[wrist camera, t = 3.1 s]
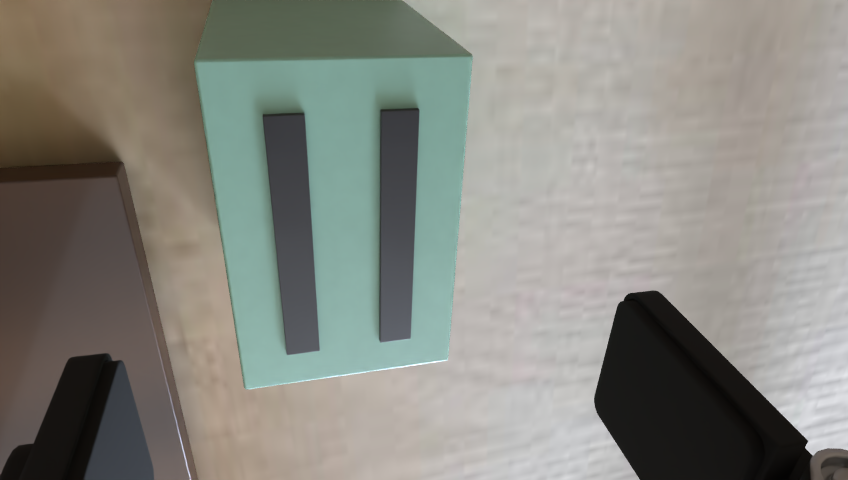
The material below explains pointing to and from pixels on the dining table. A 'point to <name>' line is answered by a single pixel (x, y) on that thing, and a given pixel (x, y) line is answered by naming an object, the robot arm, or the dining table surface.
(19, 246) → the board
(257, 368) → the toaster
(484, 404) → the dining table surface
